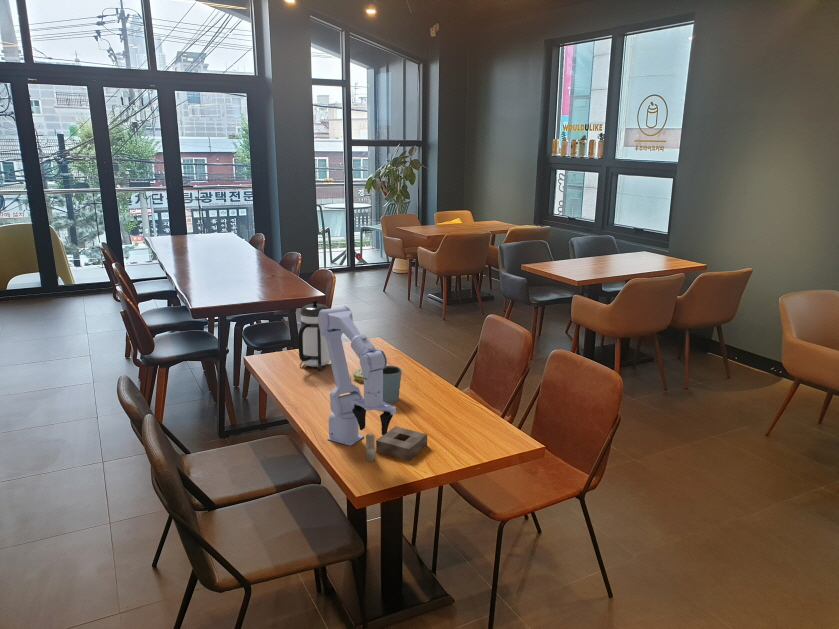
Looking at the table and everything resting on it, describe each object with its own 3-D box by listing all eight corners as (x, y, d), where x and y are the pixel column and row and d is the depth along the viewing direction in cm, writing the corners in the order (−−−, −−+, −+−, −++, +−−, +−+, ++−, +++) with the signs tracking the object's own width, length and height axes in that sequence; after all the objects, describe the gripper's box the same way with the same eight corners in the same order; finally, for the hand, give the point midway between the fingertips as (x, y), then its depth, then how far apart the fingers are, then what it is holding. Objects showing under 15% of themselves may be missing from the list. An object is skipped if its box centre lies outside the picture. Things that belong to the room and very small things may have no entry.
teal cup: (370, 400, 241) (369, 371, 237) (383, 392, 249) (383, 363, 246) (393, 406, 236) (393, 376, 233) (406, 397, 245) (406, 368, 242)
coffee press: (294, 362, 282) (292, 296, 274) (330, 359, 287) (329, 294, 279) (299, 375, 266) (297, 306, 258) (337, 371, 271) (336, 303, 263)
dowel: (364, 459, 195) (364, 436, 193) (369, 456, 198) (368, 433, 196) (371, 462, 194) (371, 438, 192) (376, 458, 197) (376, 434, 194)
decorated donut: (383, 377, 266) (383, 368, 265) (372, 385, 257) (372, 376, 256) (361, 373, 270) (361, 365, 269) (349, 381, 260) (349, 373, 259)
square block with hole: (376, 451, 201) (376, 440, 200) (395, 437, 211) (395, 426, 210) (409, 460, 195) (409, 449, 194) (427, 445, 206) (427, 434, 204)
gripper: (345, 390, 189) (346, 431, 193) (388, 398, 184) (388, 441, 187) (357, 382, 196) (357, 422, 199) (399, 390, 190) (398, 432, 193)
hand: (373, 431), depth 194 cm, fingers open, 7 cm apart
